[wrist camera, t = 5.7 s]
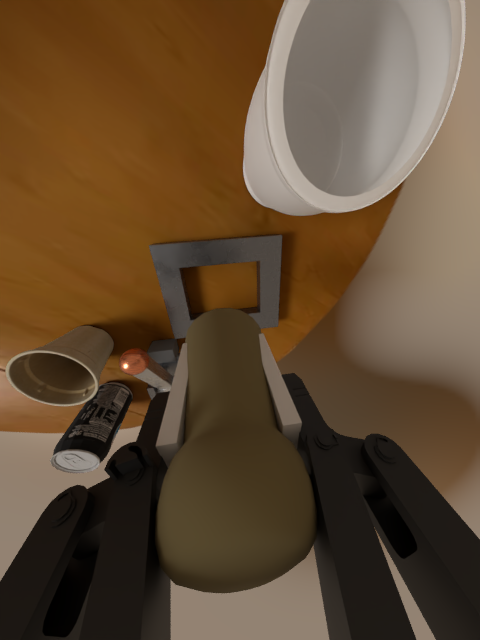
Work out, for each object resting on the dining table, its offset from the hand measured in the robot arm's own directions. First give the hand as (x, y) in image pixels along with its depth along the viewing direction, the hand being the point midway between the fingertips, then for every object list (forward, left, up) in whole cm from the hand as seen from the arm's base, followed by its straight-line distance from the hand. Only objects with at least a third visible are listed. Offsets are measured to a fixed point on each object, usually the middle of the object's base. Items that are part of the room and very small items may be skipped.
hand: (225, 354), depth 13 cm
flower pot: (-22, -8, -17) cm, 29 cm away
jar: (+9, +14, -17) cm, 24 cm away
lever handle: (-10, -16, -13) cm, 23 cm away
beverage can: (-22, -20, -17) cm, 35 cm away
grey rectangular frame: (0, -1, -17) cm, 17 cm away
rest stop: (-10, -10, -17) cm, 23 cm away
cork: (0, 0, -2) cm, 2 cm away
